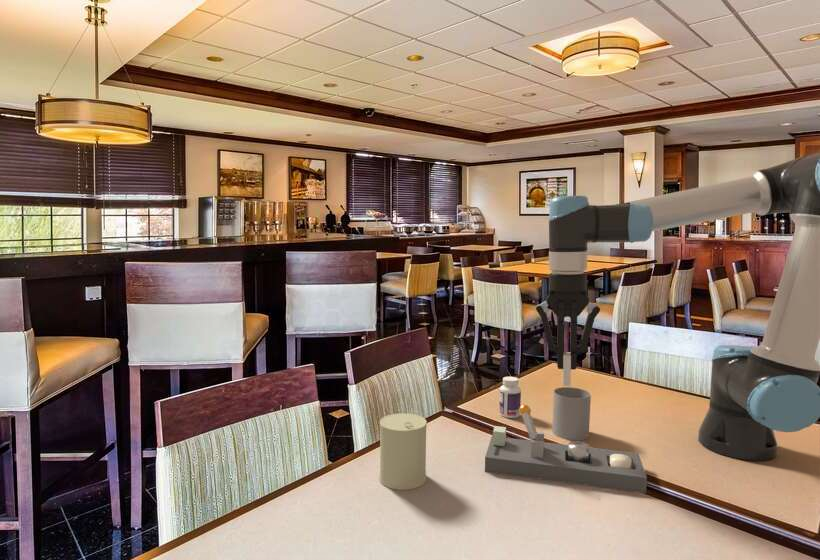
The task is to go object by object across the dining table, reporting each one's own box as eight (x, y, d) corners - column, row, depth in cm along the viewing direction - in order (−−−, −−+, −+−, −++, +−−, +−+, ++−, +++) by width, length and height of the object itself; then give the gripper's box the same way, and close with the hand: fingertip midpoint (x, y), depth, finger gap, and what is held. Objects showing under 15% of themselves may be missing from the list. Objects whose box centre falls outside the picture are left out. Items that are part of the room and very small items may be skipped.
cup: (590, 441, 121) (592, 399, 120) (553, 438, 123) (555, 397, 122) (586, 428, 130) (587, 388, 128) (551, 425, 131) (552, 386, 130)
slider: (505, 440, 114) (506, 427, 113) (504, 446, 111) (504, 432, 111) (494, 439, 114) (494, 425, 114) (492, 444, 112) (493, 431, 111)
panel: (637, 467, 109) (639, 438, 108) (646, 493, 98) (647, 461, 98) (491, 449, 117) (492, 422, 116) (484, 471, 106) (485, 441, 106)
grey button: (587, 458, 108) (588, 442, 108) (588, 467, 104) (589, 450, 104) (567, 456, 109) (568, 440, 109) (567, 464, 105) (568, 447, 105)
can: (391, 494, 97) (392, 431, 96) (371, 473, 105) (371, 415, 104) (435, 483, 101) (436, 423, 100) (412, 464, 109) (413, 407, 108)
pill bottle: (523, 413, 139) (524, 377, 138) (515, 420, 134) (516, 383, 133) (503, 409, 142) (505, 374, 141) (495, 415, 137) (496, 379, 136)
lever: (543, 443, 110) (528, 401, 110) (543, 449, 107) (528, 406, 107) (532, 445, 110) (517, 404, 110) (531, 451, 107) (516, 409, 107)
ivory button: (629, 471, 106) (630, 455, 106) (632, 481, 102) (633, 463, 102) (608, 469, 107) (609, 452, 107) (610, 478, 103) (610, 461, 103)
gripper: (599, 270, 110) (597, 380, 113) (535, 270, 114) (534, 377, 116) (603, 273, 103) (601, 391, 106) (534, 273, 106) (534, 387, 109)
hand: (566, 383), depth 111 cm, fingers closed
